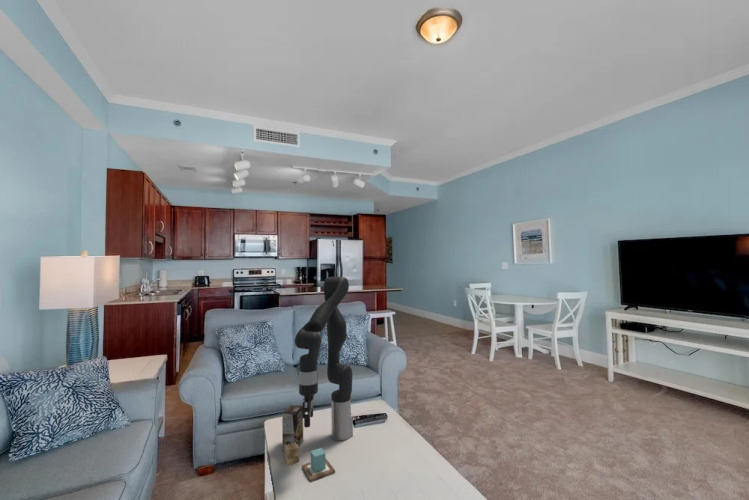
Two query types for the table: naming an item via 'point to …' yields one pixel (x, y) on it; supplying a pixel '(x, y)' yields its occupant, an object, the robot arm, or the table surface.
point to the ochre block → (291, 453)
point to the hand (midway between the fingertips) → (308, 421)
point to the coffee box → (292, 426)
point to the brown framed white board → (320, 474)
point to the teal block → (318, 460)
